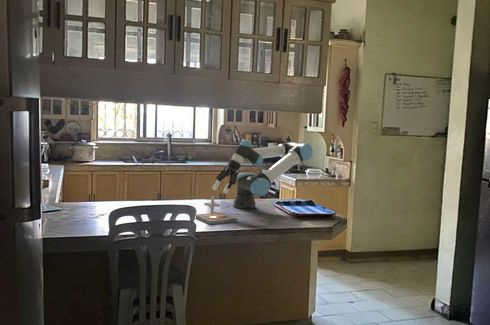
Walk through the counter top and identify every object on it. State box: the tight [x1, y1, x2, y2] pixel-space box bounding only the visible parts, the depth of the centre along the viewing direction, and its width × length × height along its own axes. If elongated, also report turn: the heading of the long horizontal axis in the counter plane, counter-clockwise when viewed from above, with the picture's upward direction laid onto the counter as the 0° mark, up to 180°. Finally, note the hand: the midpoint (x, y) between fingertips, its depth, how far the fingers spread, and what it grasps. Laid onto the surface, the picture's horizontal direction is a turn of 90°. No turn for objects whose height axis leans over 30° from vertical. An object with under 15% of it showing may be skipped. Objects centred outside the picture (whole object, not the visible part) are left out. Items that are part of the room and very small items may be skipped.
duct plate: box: [195, 212, 238, 226], centre depth 269 cm, size 18×18×2 cm
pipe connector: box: [204, 196, 221, 213], centre depth 288 cm, size 10×10×10 cm
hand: (219, 191), depth 284 cm, fingers open, 13 cm apart
